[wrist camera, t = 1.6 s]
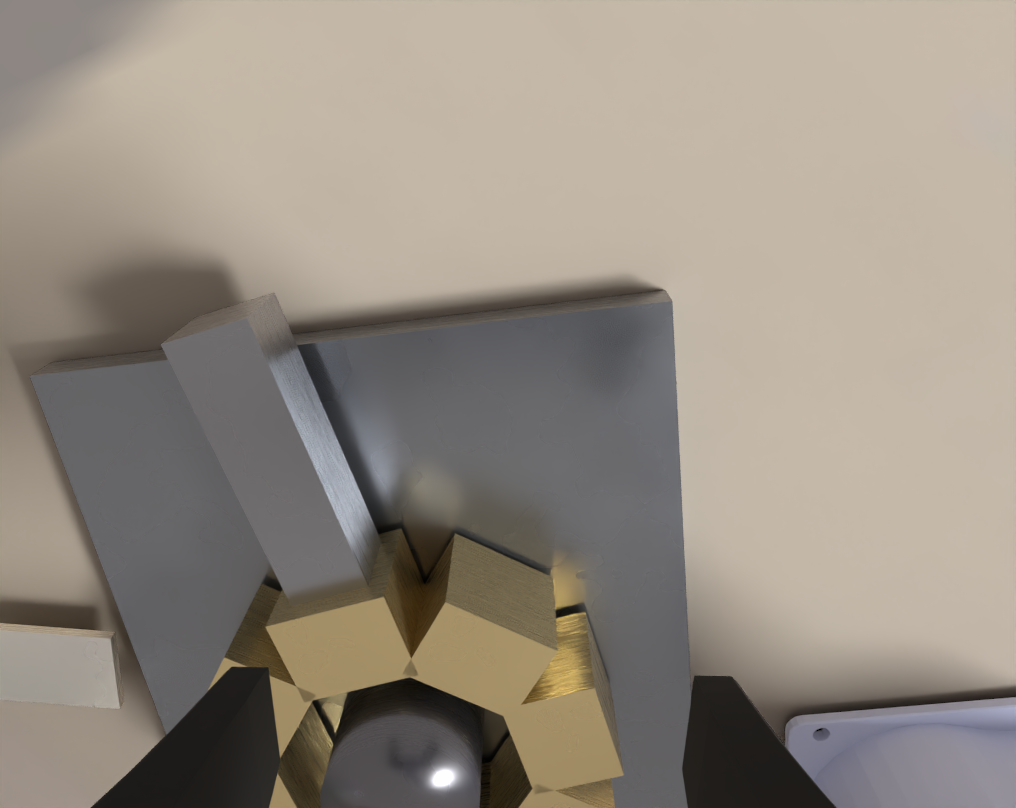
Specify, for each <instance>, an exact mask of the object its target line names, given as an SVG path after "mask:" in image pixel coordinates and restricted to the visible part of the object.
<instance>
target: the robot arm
mask: <svg viewBox="0 0 1016 808" xmlns="http://www.w3.org/2000/svg"><path fill="white" fill-rule="evenodd" d="M820 728H823V729H822V730H820V731H816V730H817V729H820ZM279 765H280V753H279V745H278V738H277V730H276V722H275V714H274V707H273V699H272V691H271V683H270V676H269V668H268V667H231V668H230V669H229V670H227V671H226V672H225V673H224V674H223V675H222V676H221V678H220V679H219V680H218V681H217V682H216V683H215V684H214V685H213V686H212V687H211V688H210V689H209V690H208V691H207V692H206V694H205V695H204V696H203V697H202V698H201V699H200V700H199V701H198V702H197V703H196V704H195V705H194V706H193V707H192V709H191V710H190V711H189V712H188V713H187V714H186V715H185V716H184V717H183V718H182V719H181V720H180V721H179V722H178V723H177V724H176V725H175V726H174V728H173V729H172V730H171V731H170V732H169V733H168V734H167V735H166V736H165V737H164V738H163V739H162V740H161V741H160V742H159V743H158V744H157V745H156V746H155V747H154V748H153V749H152V750H151V751H150V752H149V753H148V754H147V755H146V756H145V757H144V758H143V759H142V760H141V761H140V762H139V763H138V764H137V765H136V766H135V767H134V768H133V769H132V770H131V771H130V772H129V773H128V774H127V775H126V776H125V777H123V778H122V779H121V780H120V781H119V782H118V783H117V784H116V785H115V786H114V787H113V788H112V789H110V790H109V791H108V792H107V793H106V794H105V795H104V796H103V797H102V798H101V799H100V800H99V801H98V802H96V803H95V804H94V805H93V806H92V807H91V808H269V806H270V802H271V798H272V794H273V790H274V786H275V782H276V778H277V773H278V769H279ZM682 773H683V779H684V786H685V792H686V799H687V805H688V808H1016V697H1010V698H999V699H987V700H975V701H963V702H952V703H940V704H928V705H916V706H905V707H893V708H881V709H869V710H858V711H846V712H834V713H822V714H811V715H800V716H796V717H794V718H792V719H791V720H790V721H789V722H788V723H787V724H786V728H785V745H784V744H783V743H782V742H781V740H780V739H779V738H778V736H777V735H776V734H775V733H774V731H773V730H772V729H771V727H770V726H769V725H768V723H767V722H766V721H765V719H764V718H763V717H762V715H761V714H760V713H759V711H758V710H757V709H756V707H755V706H754V705H753V703H752V702H751V701H750V699H749V698H748V697H747V695H746V694H745V692H744V691H743V690H742V688H741V687H740V686H739V684H738V683H737V682H736V681H735V680H734V679H733V677H731V676H694V682H693V690H692V697H691V705H690V712H689V720H688V727H687V735H686V742H685V750H684V757H683V765H682Z"/></svg>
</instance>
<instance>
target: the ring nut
mask: <svg viewBox="0 0 1016 808" xmlns="http://www.w3.org/2000/svg"><path fill="white" fill-rule="evenodd" d="M161 346H162V348H163V350H164V352H165V354H166V356H167V358H168V360H169V362H170V364H171V366H172V368H173V370H174V372H175V374H176V376H177V378H178V380H179V382H180V384H181V386H182V388H183V390H184V392H185V394H186V396H187V398H188V400H189V402H190V404H191V406H192V408H193V410H194V412H195V414H196V416H197V418H198V420H199V422H200V424H201V426H202V428H203V430H204V432H205V434H206V436H207V438H208V440H209V442H210V444H211V446H212V448H213V450H214V452H215V454H216V456H217V458H218V460H219V462H220V464H221V466H222V468H223V470H224V472H225V474H226V476H227V478H228V480H229V482H230V484H231V486H232V488H233V490H234V492H235V494H236V496H237V498H238V500H239V502H240V504H241V506H242V508H243V510H244V512H245V514H246V516H247V518H248V520H249V522H250V524H251V526H252V528H253V530H254V532H255V534H256V536H257V538H258V540H259V542H260V544H261V546H262V548H263V550H264V552H265V554H266V556H267V558H268V560H269V562H270V564H271V566H272V568H273V570H274V572H275V574H276V576H277V578H278V580H279V582H280V584H281V586H282V588H283V589H282V591H281V592H280V591H277V590H275V589H273V588H270V587H268V586H266V585H263V584H261V585H260V587H259V589H258V591H257V593H256V595H255V597H254V599H253V601H252V603H251V605H250V607H249V609H248V611H247V613H246V615H245V617H244V619H243V621H242V623H241V625H240V627H239V629H238V631H237V633H236V635H235V637H234V639H233V641H232V643H231V645H230V647H229V649H228V651H227V653H226V655H225V657H224V659H223V661H222V663H221V665H220V667H219V669H218V671H217V673H216V675H215V677H214V679H213V681H212V683H211V685H210V687H209V689H210V688H211V687H212V686H213V685H214V684H215V683H216V682H217V681H218V680H219V679H220V678H221V676H222V675H223V674H224V673H225V672H226V671H227V670H229V669H230V668H231V667H268V668H269V676H270V683H271V691H272V699H273V707H274V714H275V722H276V730H277V738H278V745H279V753H280V765H279V769H278V773H277V778H276V782H275V786H274V790H273V794H272V798H271V802H270V806H269V808H321V804H320V794H321V788H322V784H323V780H324V777H325V773H326V769H327V766H328V762H329V758H330V755H331V751H332V748H333V742H332V740H331V738H330V736H329V734H328V732H327V730H326V728H325V726H324V724H323V722H322V720H321V719H320V717H319V715H318V713H317V711H316V709H315V707H314V705H313V703H312V701H313V700H316V699H321V698H325V697H329V696H333V695H337V694H342V693H346V692H350V691H354V690H358V689H363V688H367V687H371V686H375V685H379V684H384V683H388V682H392V681H396V680H400V679H405V678H409V677H411V678H413V679H416V680H418V681H420V682H423V683H425V684H428V685H430V686H432V687H435V688H437V689H440V690H442V691H444V692H447V693H449V694H452V695H454V696H456V697H459V698H461V699H464V700H466V701H468V702H471V703H473V704H476V705H478V706H480V707H483V708H485V709H488V710H490V711H492V712H495V713H497V714H500V715H502V716H504V719H505V721H506V724H507V726H508V729H509V731H510V735H509V737H508V738H507V739H506V741H505V742H504V744H503V745H502V747H501V748H500V749H499V751H498V752H497V754H496V755H495V757H494V758H493V759H492V761H491V762H486V763H482V772H481V790H480V808H615V804H614V796H613V788H612V781H611V778H615V777H619V776H624V771H623V764H622V758H621V751H620V744H619V737H618V731H617V724H616V717H615V710H614V704H613V697H612V691H611V688H610V685H609V682H608V679H607V676H606V673H605V670H604V667H603V664H602V661H601V658H600V655H599V652H598V649H597V646H596V642H595V639H594V636H593V633H592V630H591V627H590V624H589V621H588V618H587V615H586V612H585V611H584V612H580V613H576V614H571V615H567V616H563V617H559V618H556V614H555V599H554V584H553V577H550V576H548V575H546V574H544V573H542V572H539V571H537V570H535V569H533V568H531V567H528V566H526V565H524V564H522V563H520V562H517V561H515V560H513V559H511V558H509V557H507V556H504V555H502V554H500V553H498V552H496V551H493V550H491V549H489V548H487V547H485V546H482V545H480V544H478V543H476V542H474V541H471V540H469V539H467V538H465V537H463V536H460V535H458V534H456V533H455V534H454V536H453V537H452V539H451V541H450V542H449V544H448V546H447V547H446V549H445V551H444V553H443V554H442V556H441V558H440V559H439V561H438V563H437V565H436V566H435V568H434V570H433V571H432V573H431V575H430V576H429V578H428V580H427V582H426V583H425V584H424V582H423V579H422V577H421V575H420V572H419V570H418V567H417V565H416V563H415V560H414V558H413V555H412V553H411V551H410V548H409V546H408V543H407V541H406V539H405V536H404V534H403V531H402V529H397V530H393V531H389V532H385V533H382V534H378V532H377V530H376V528H375V525H374V523H373V521H372V518H371V516H370V514H369V511H368V509H367V507H366V504H365V502H364V500H363V497H362V495H361V493H360V490H359V488H358V486H357V483H356V481H355V479H354V476H353V474H352V472H351V470H350V467H349V465H348V463H347V460H346V458H345V456H344V453H343V451H342V449H341V446H340V444H339V442H338V439H337V437H336V435H335V432H334V430H333V428H332V425H331V423H330V421H329V418H328V416H327V414H326V411H325V409H324V407H323V405H322V402H321V400H320V398H319V395H318V393H317V391H316V388H315V386H314V384H313V381H312V379H311V377H310V374H309V372H308V370H307V367H306V365H305V363H304V360H303V358H302V356H301V353H300V351H299V349H298V347H297V344H296V342H295V340H294V337H293V335H292V333H291V330H290V328H289V326H288V323H287V321H286V319H285V316H284V314H283V312H282V309H281V307H280V305H279V302H278V300H277V298H276V295H275V293H272V294H269V295H266V296H262V297H259V298H256V299H253V300H249V301H246V302H243V303H240V304H237V305H233V306H230V307H227V308H224V309H220V310H217V311H214V312H211V313H207V314H204V315H201V316H198V317H195V318H194V319H193V320H191V321H190V322H189V323H188V324H186V325H185V326H184V327H182V328H181V329H180V330H179V331H177V332H176V333H175V334H173V335H172V336H171V337H169V338H168V339H167V340H166V341H164V342H163V343H162V344H161ZM209 689H208V690H209Z"/></svg>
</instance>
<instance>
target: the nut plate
mask: <svg viewBox="0 0 1016 808" xmlns="http://www.w3.org/2000/svg"><path fill="white" fill-rule="evenodd" d="M292 335H293V337H294V340H295V342H296V344H297V347H298V349H299V351H300V353H301V356H302V358H303V360H304V363H305V365H306V367H307V370H308V372H309V374H310V377H311V379H312V381H313V384H314V386H315V388H316V391H317V393H318V395H319V398H320V400H321V402H322V405H323V407H324V409H325V411H326V414H327V416H328V418H329V421H330V423H331V425H332V428H333V430H334V432H335V435H336V437H337V439H338V442H339V444H340V446H341V449H342V451H343V453H344V456H345V458H346V460H347V463H348V465H349V467H350V470H351V472H352V474H353V476H354V479H355V481H356V483H357V486H358V488H359V490H360V493H361V495H362V497H363V500H364V502H365V504H366V507H367V509H368V511H369V514H370V516H371V518H372V521H373V523H374V525H375V528H376V530H377V532H378V534H382V533H385V532H389V531H393V530H397V529H402V531H403V534H404V536H405V539H406V541H407V543H408V546H409V548H410V551H411V553H412V555H413V558H414V560H415V563H416V565H417V567H418V570H419V572H420V575H421V577H422V579H423V582H424V584H425V583H426V582H427V580H428V578H429V576H430V575H431V573H432V571H433V570H434V568H435V566H436V565H437V563H438V561H439V559H440V558H441V556H442V554H443V553H444V551H445V549H446V547H447V546H448V544H449V542H450V541H451V539H452V537H453V536H454V534H455V533H456V534H458V535H460V536H463V537H465V538H467V539H469V540H471V541H474V542H476V543H478V544H480V545H482V546H485V547H487V548H489V549H491V550H493V551H496V552H498V553H500V554H502V555H504V556H507V557H509V558H511V559H513V560H515V561H517V562H520V563H522V564H524V565H526V566H528V567H531V568H533V569H535V570H537V571H539V572H542V573H544V574H546V575H548V576H550V577H553V584H554V599H555V614H556V618H559V617H563V616H567V615H571V614H576V613H580V612H584V611H585V612H586V615H587V618H588V621H589V624H590V627H591V630H592V633H593V636H594V639H595V642H596V646H597V649H598V652H599V655H600V658H601V661H602V664H603V667H604V670H605V673H606V676H607V679H608V682H609V685H610V688H611V691H612V697H613V704H614V710H615V717H616V724H617V731H618V737H619V744H620V751H621V758H622V764H623V771H624V776H619V777H615V778H611V781H612V788H613V796H614V804H615V808H688V805H687V799H686V792H685V786H684V779H683V773H682V765H683V757H684V750H685V742H686V735H687V727H688V720H689V712H690V705H691V685H690V664H689V643H688V622H687V601H686V580H685V559H684V538H683V517H682V495H681V474H680V453H679V432H678V411H677V390H676V369H675V348H674V327H673V306H672V300H671V298H670V297H669V295H668V294H667V292H666V291H665V290H663V291H654V292H646V293H637V294H629V295H621V296H612V297H604V298H595V299H587V300H578V301H570V302H561V303H553V304H544V305H536V306H527V307H519V308H510V309H502V310H493V311H485V312H476V313H468V314H459V315H451V316H442V317H434V318H425V319H417V320H408V321H400V322H391V323H383V324H374V325H366V326H357V327H349V328H340V329H332V330H323V331H315V332H306V333H298V334H292ZM30 379H31V381H32V384H33V386H34V389H35V392H36V394H37V397H38V400H39V402H40V405H41V407H42V410H43V413H44V415H45V418H46V421H47V423H48V426H49V428H50V431H51V434H52V436H53V439H54V442H55V444H56V447H57V449H58V452H59V455H60V457H61V460H62V463H63V465H64V468H65V470H66V473H67V476H68V478H69V481H70V484H71V486H72V489H73V491H74V494H75V497H76V499H77V502H78V505H79V507H80V510H81V512H82V515H83V518H84V520H85V523H86V526H87V528H88V531H89V533H90V536H91V539H92V541H93V544H94V547H95V549H96V552H97V554H98V557H99V560H100V562H101V565H102V568H103V570H104V573H105V575H106V578H107V581H108V583H109V586H110V589H111V591H112V594H113V596H114V599H115V602H116V604H117V607H118V610H119V612H120V615H121V617H122V620H123V623H124V625H125V628H126V631H127V633H128V636H129V638H130V641H131V644H132V646H133V649H134V652H135V654H136V657H137V659H138V662H139V665H140V667H141V670H142V673H143V675H144V678H145V680H146V683H147V686H148V688H149V691H150V693H151V696H152V699H153V701H154V704H155V707H156V709H157V712H158V714H159V717H160V720H161V722H162V725H163V728H164V730H165V733H166V735H167V734H168V733H169V732H170V731H171V730H172V729H173V728H174V726H175V725H176V724H177V723H178V722H179V721H180V720H181V719H182V718H183V717H184V716H185V715H186V714H187V713H188V712H189V711H190V710H191V709H192V707H193V706H194V705H195V704H196V703H197V702H198V701H199V700H200V699H201V698H202V697H203V696H204V695H205V694H206V692H207V691H208V689H209V687H210V685H211V683H212V681H213V679H214V677H215V675H216V673H217V671H218V669H219V667H220V665H221V663H222V661H223V659H224V657H225V655H226V653H227V651H228V649H229V647H230V645H231V643H232V641H233V639H234V637H235V635H236V633H237V631H238V629H239V627H240V625H241V623H242V621H243V619H244V617H245V615H246V613H247V611H248V609H249V607H250V605H251V603H252V601H253V599H254V597H255V595H256V593H257V591H258V589H259V587H260V585H261V584H263V585H266V586H268V587H270V588H273V589H275V590H277V591H280V592H281V591H282V589H283V588H282V586H281V584H280V582H279V580H278V578H277V576H276V574H275V572H274V570H273V568H272V566H271V564H270V562H269V560H268V558H267V556H266V554H265V552H264V550H263V548H262V546H261V544H260V542H259V540H258V538H257V536H256V534H255V532H254V530H253V528H252V526H251V524H250V522H249V520H248V518H247V516H246V514H245V512H244V510H243V508H242V506H241V504H240V502H239V500H238V498H237V496H236V494H235V492H234V490H233V488H232V486H231V484H230V482H229V480H228V478H227V476H226V474H225V472H224V470H223V468H222V466H221V464H220V462H219V460H218V458H217V456H216V454H215V452H214V450H213V448H212V446H211V444H210V442H209V440H208V438H207V436H206V434H205V432H204V430H203V428H202V426H201V424H200V422H199V420H198V418H197V416H196V414H195V412H194V410H193V408H192V406H191V404H190V402H189V400H188V398H187V396H186V394H185V392H184V390H183V388H182V386H181V384H180V382H179V380H178V378H177V376H176V374H175V372H174V370H173V368H172V366H171V364H170V362H169V360H168V358H167V356H166V354H165V352H164V350H163V349H162V350H154V351H145V352H137V353H128V354H120V355H111V356H103V357H94V358H86V359H77V360H69V361H60V362H52V363H50V364H48V365H47V366H45V367H43V368H42V369H40V370H39V371H37V372H35V373H34V374H32V375H31V376H30ZM0 700H5V701H18V702H32V703H45V704H59V705H72V706H85V707H99V708H112V709H120V708H121V706H122V705H123V703H124V694H123V687H122V679H121V671H120V664H119V656H118V649H117V641H116V633H115V632H110V631H97V630H84V629H71V628H58V627H45V626H32V625H19V624H6V623H0ZM312 703H313V705H314V707H315V709H316V711H317V713H318V715H319V717H320V719H321V720H322V722H323V724H324V726H325V728H326V730H327V732H328V734H329V736H330V738H331V740H332V742H333V748H332V751H331V755H330V758H329V762H328V766H327V769H326V773H325V777H324V780H323V784H322V788H321V794H320V804H321V808H480V790H481V772H482V763H486V762H491V761H492V759H493V758H494V757H495V755H496V754H497V752H498V751H499V749H500V748H501V747H502V745H503V744H504V742H505V741H506V739H507V738H508V737H509V735H510V731H509V729H508V726H507V724H506V721H505V719H504V716H502V715H500V714H497V713H495V712H492V711H490V710H488V709H485V708H483V707H480V706H478V705H476V704H473V703H471V702H468V701H466V700H464V699H461V698H459V697H456V696H454V695H452V694H449V693H447V692H444V691H442V690H440V689H437V688H435V687H432V686H430V685H428V684H425V683H423V682H420V681H418V680H416V679H413V678H411V677H409V678H405V679H400V680H396V681H392V682H388V683H384V684H379V685H375V686H371V687H367V688H363V689H358V690H354V691H350V692H346V693H342V694H337V695H333V696H329V697H325V698H321V699H316V700H313V701H312Z"/></svg>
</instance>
